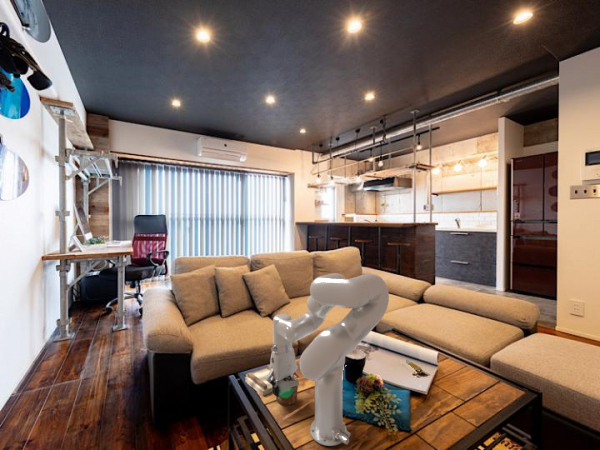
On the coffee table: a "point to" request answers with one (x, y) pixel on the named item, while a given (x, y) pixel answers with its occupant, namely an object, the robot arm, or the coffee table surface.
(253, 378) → the base plate
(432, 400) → the coffee table surface
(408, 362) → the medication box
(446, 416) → the coffee table surface
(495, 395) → the coffee table surface
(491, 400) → the coffee table surface
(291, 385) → the food container
